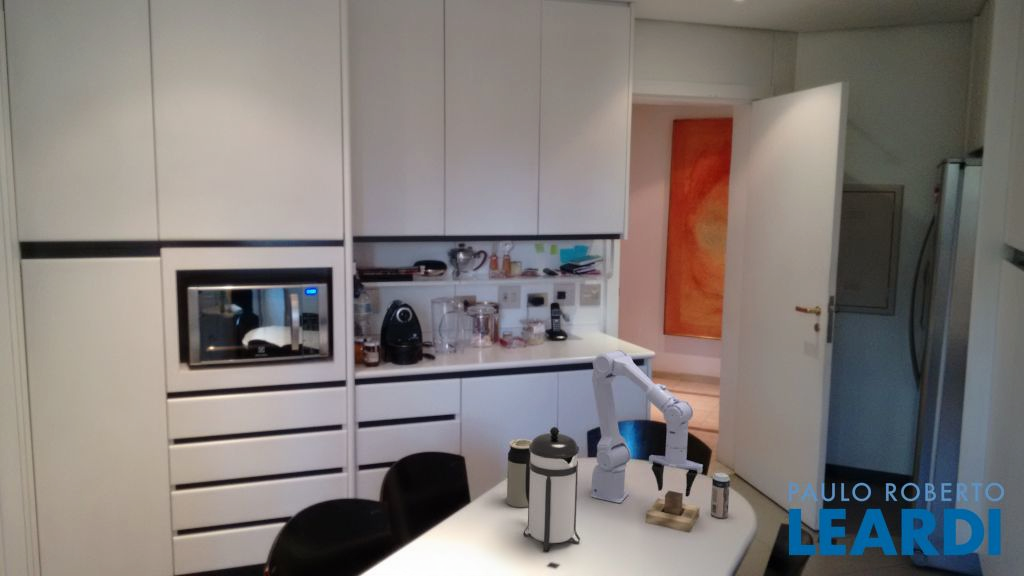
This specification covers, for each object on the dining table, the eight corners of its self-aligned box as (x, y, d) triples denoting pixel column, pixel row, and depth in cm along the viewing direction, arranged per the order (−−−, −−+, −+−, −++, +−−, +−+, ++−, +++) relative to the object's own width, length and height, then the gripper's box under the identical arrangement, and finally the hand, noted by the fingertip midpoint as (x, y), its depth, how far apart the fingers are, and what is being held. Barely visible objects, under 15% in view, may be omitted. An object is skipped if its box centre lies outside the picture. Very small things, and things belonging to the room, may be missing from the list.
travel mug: (538, 500, 201) (539, 441, 199) (527, 510, 194) (528, 449, 192) (513, 495, 204) (515, 437, 203) (502, 504, 197) (503, 444, 195)
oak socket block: (645, 522, 188) (646, 513, 188) (657, 506, 199) (657, 498, 198) (689, 532, 183) (689, 523, 182) (699, 515, 193) (699, 507, 193)
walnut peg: (663, 519, 190) (664, 495, 189) (667, 514, 193) (668, 490, 192) (678, 522, 188) (679, 498, 187) (681, 517, 191) (682, 493, 191)
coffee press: (586, 530, 182) (590, 421, 179) (572, 557, 167) (576, 439, 164) (525, 519, 188) (528, 414, 185) (506, 545, 173) (508, 430, 170)
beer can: (728, 519, 191) (731, 478, 190) (711, 518, 192) (713, 477, 190) (726, 512, 195) (729, 472, 194) (709, 511, 196) (711, 471, 195)
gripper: (646, 444, 188) (644, 491, 190) (699, 454, 182) (696, 503, 183) (653, 437, 194) (651, 483, 196) (705, 446, 188) (702, 493, 189)
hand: (673, 492), depth 190 cm, fingers open, 7 cm apart
